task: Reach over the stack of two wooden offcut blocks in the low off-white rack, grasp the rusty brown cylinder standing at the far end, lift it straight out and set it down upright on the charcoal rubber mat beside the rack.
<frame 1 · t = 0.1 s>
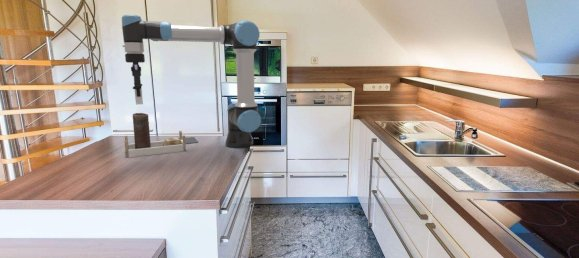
hand: (139, 102, 145), 28 cm above the counter, fingers open, 13 cm apart
mat: (183, 141, 191), on the counter
rack: (156, 150, 170), on the counter
offcut lower: (172, 150, 174), on the counter, touching offcut upper
offcut upper: (172, 144, 173), point 2 cm above the counter, touching offcut lower
rusty brown cylinder: (143, 152, 168), on the counter
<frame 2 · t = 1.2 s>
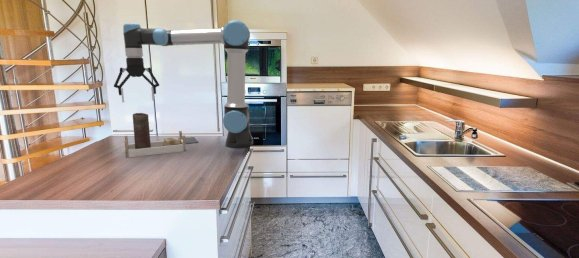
hand: (138, 101, 162), 26 cm above the counter, fingers open, 13 cm apart
nothing on the counter moved.
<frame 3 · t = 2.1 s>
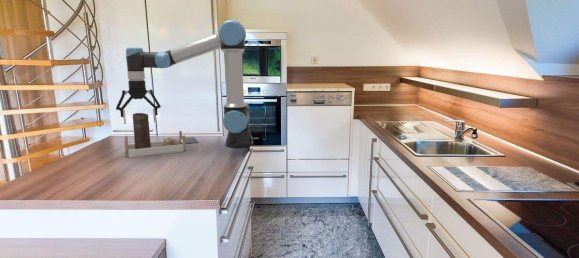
hand: (140, 122, 165), 15 cm above the counter, fingers open, 13 cm apart
offcut lower: (172, 150, 174), on the counter
offcut upper: (171, 144, 173), point 2 cm above the counter
everything else where it was.
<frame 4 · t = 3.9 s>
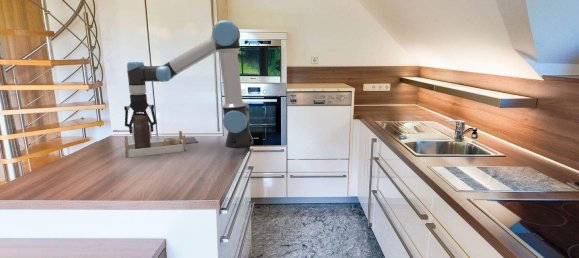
hand: (142, 138, 166), 7 cm above the counter, fingers closed on rusty brown cylinder, 7 cm apart
rusty brown cylinder: (143, 152, 168), on the counter, touching gripper
everything else where it was.
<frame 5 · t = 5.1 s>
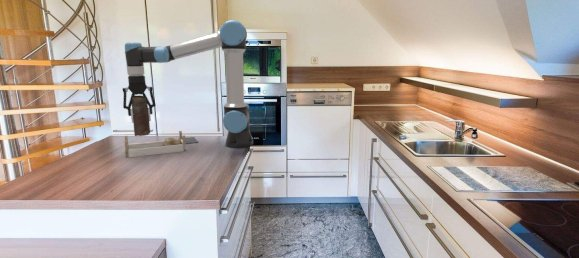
hand: (141, 121, 165), 16 cm above the counter, fingers closed on rusty brown cylinder, 7 cm apart
rusty brown cylinder: (142, 135, 166), point 9 cm above the counter, touching gripper
everything else where it was.
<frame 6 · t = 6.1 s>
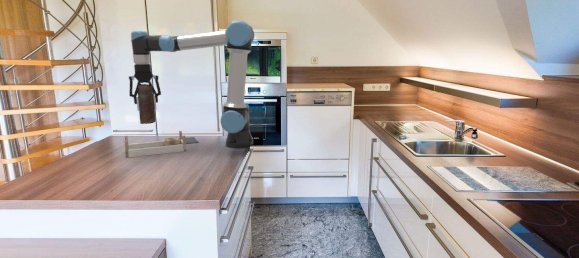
hand: (147, 109, 167), 22 cm above the counter, fingers closed on rusty brown cylinder, 7 cm apart
offcut lower: (172, 150, 174), on the counter, touching offcut upper
offcut upper: (172, 144, 174), point 2 cm above the counter, touching offcut lower
rusty brown cylinder: (148, 123, 168), point 14 cm above the counter, touching gripper
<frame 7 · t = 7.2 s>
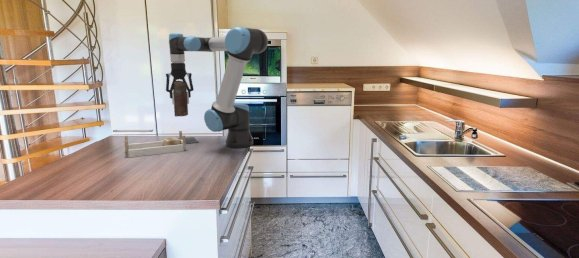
hand: (180, 103, 185), 22 cm above the counter, fingers closed on rusty brown cylinder, 7 cm apart
rusty brown cylinder: (181, 116, 187), point 15 cm above the counter, touching gripper
everything else where it was.
when the fingers open (9 cm above the counter, at t = 10.5 s): rusty brown cylinder drops 2 cm, resting on mat.
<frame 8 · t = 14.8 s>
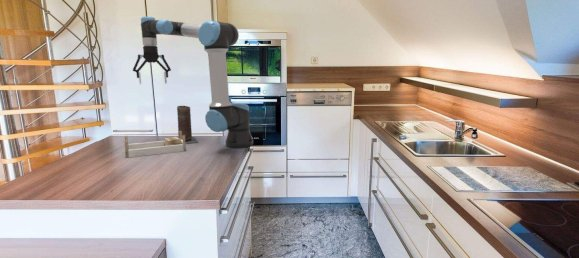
hand: (153, 83, 190), 33 cm above the counter, fingers open, 13 cm apart
offcut upper: (172, 144, 174), point 2 cm above the counter, touching offcut lower
rusty brown cylinder: (185, 140, 191), resting on mat
everything else where it was.
at the end: rusty brown cylinder inside the target area on the mat (1.1 cm from its centre), point 0.2 cm above the mat's base; rusty brown cylinder tilted 0°; the gripper is holding nothing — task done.
